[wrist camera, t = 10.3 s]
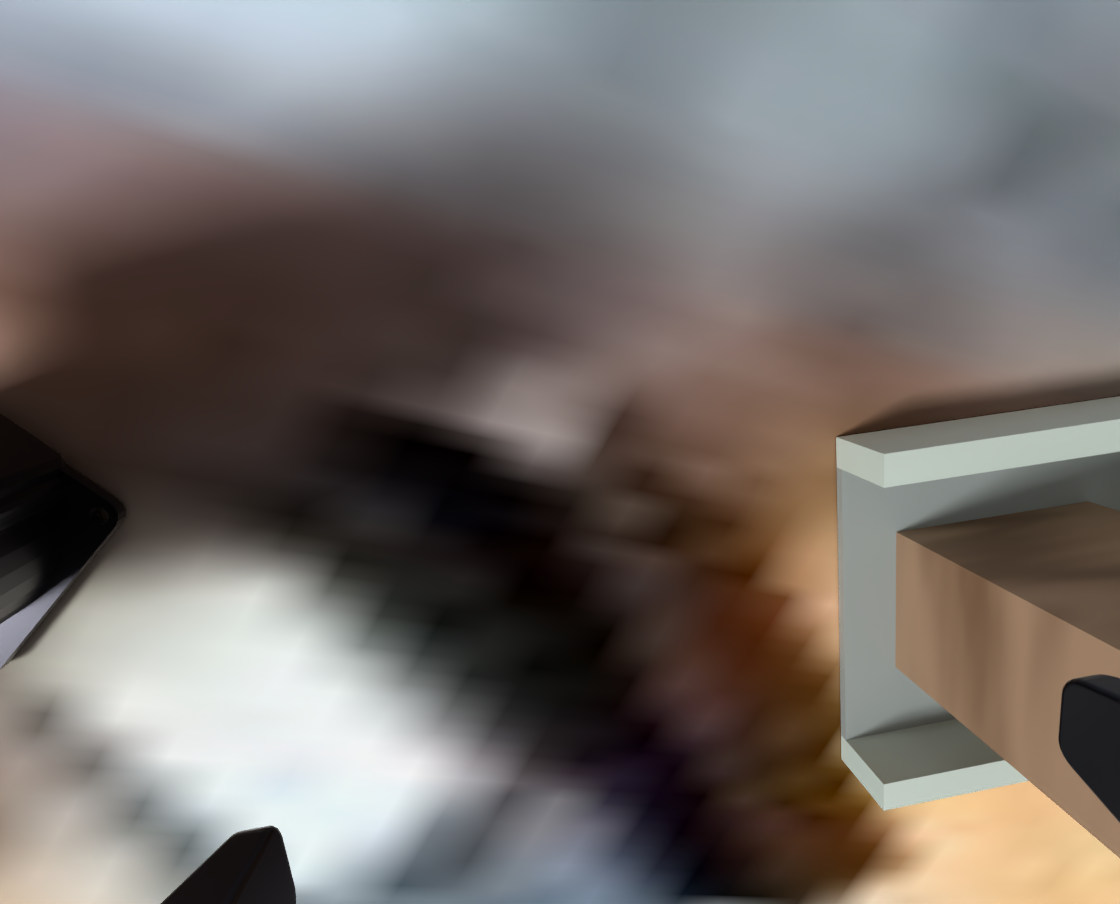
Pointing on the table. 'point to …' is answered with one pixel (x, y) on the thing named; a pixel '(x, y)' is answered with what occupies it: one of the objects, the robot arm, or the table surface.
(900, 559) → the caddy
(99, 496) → the robot arm
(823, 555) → the table surface
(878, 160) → the table surface
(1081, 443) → the bay
